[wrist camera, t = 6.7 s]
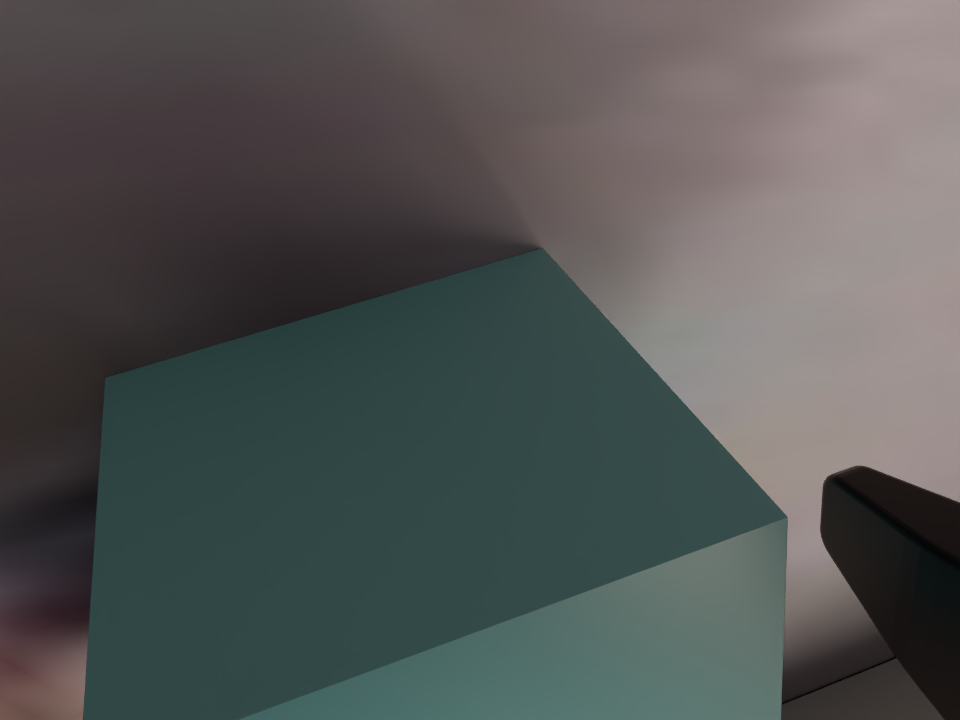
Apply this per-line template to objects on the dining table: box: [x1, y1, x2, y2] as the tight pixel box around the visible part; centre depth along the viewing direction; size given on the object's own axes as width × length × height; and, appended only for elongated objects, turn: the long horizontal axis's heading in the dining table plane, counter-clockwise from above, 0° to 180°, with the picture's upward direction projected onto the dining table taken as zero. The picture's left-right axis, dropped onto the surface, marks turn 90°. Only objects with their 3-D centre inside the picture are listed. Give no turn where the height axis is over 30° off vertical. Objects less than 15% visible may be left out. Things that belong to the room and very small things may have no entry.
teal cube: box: [83, 248, 788, 720], centre depth 10 cm, size 5×5×5 cm
